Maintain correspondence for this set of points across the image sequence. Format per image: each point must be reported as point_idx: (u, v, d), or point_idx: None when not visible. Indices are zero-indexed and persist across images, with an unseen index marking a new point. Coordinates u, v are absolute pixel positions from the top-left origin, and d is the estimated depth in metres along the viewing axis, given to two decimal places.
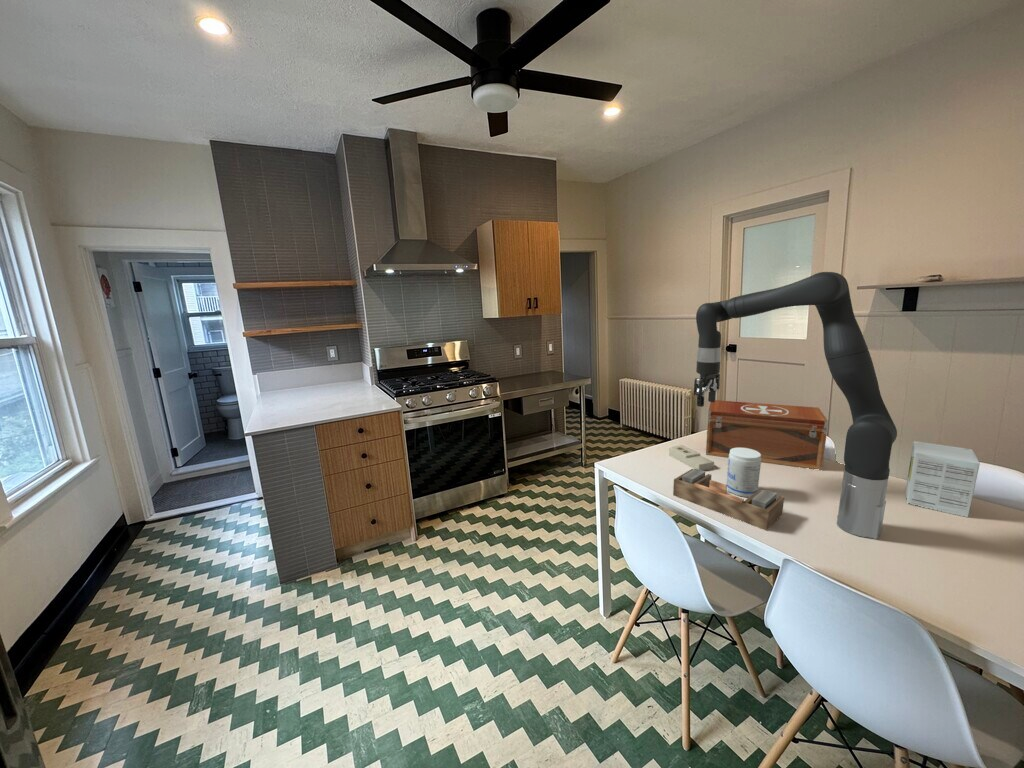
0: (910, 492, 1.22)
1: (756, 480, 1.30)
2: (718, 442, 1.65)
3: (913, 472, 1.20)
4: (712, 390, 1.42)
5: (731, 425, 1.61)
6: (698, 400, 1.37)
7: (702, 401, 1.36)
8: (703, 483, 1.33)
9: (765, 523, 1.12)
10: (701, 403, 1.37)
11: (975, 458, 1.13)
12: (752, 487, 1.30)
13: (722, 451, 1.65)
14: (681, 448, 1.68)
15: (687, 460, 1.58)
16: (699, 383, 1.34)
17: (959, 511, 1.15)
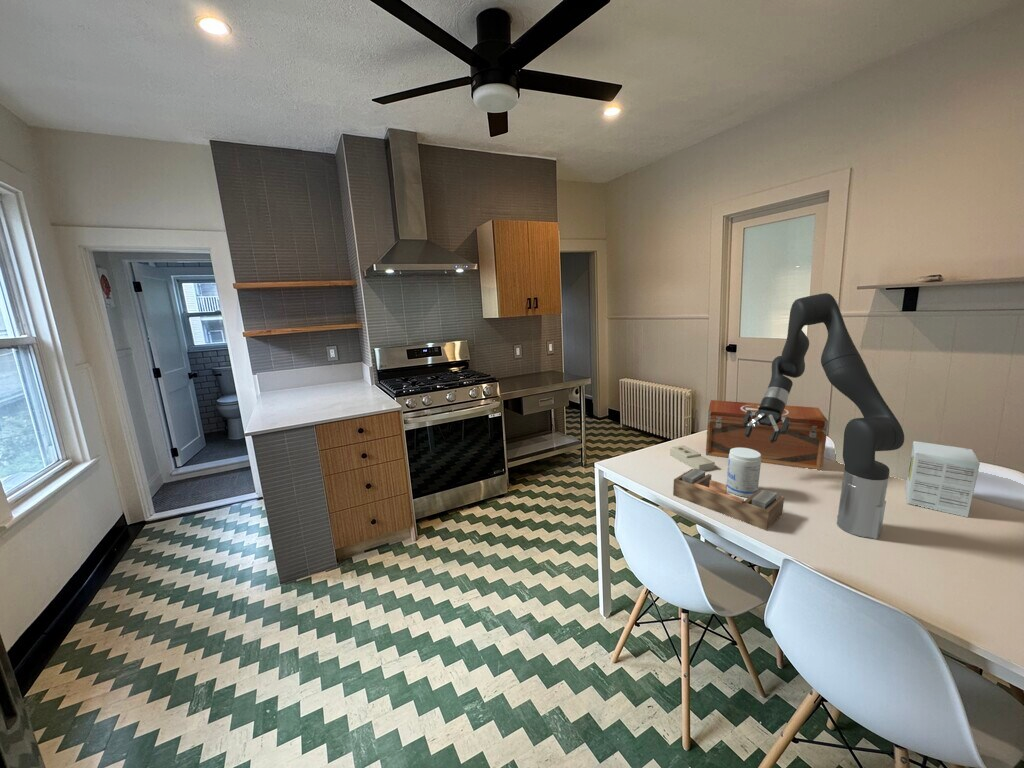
0: (910, 492, 1.22)
1: (756, 480, 1.30)
2: (718, 442, 1.65)
3: (913, 472, 1.20)
4: None
5: (731, 425, 1.61)
6: None
7: (747, 430, 1.43)
8: (703, 483, 1.33)
9: (765, 523, 1.12)
10: (745, 432, 1.43)
11: (975, 458, 1.13)
12: (752, 487, 1.30)
13: (722, 451, 1.65)
14: (682, 448, 1.68)
15: (688, 460, 1.58)
16: None
17: (959, 511, 1.15)
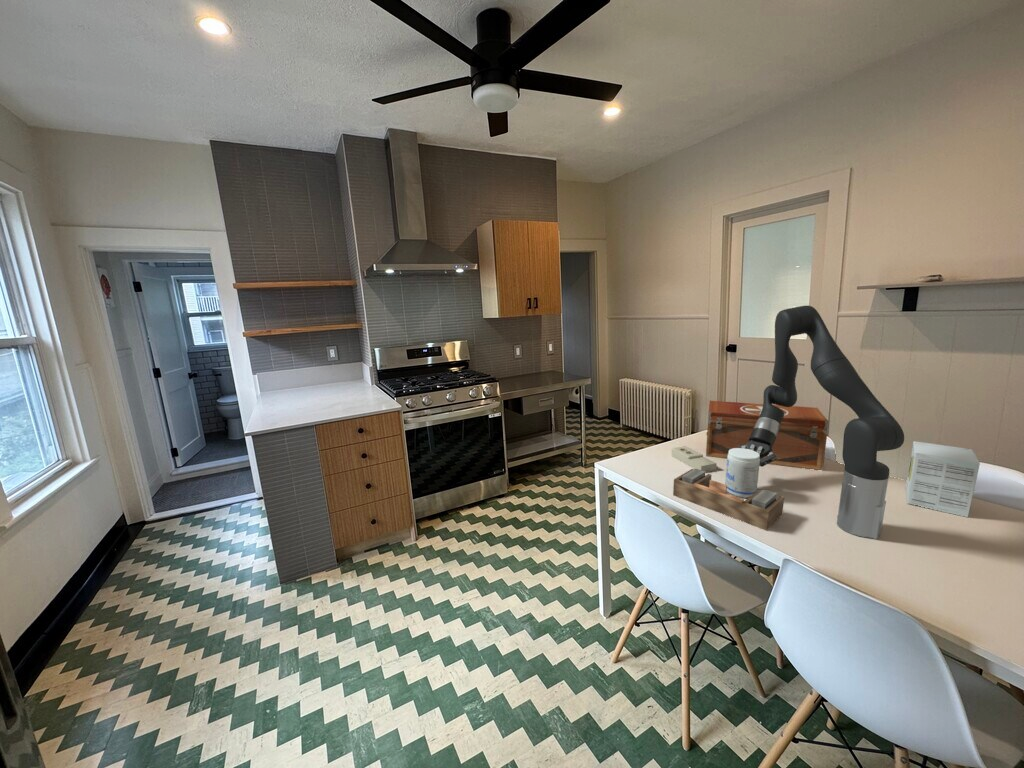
0: (910, 492, 1.22)
1: (755, 481, 1.30)
2: (718, 443, 1.64)
3: (913, 472, 1.20)
4: None
5: (731, 426, 1.60)
6: None
7: None
8: (703, 483, 1.33)
9: (765, 523, 1.12)
10: None
11: (975, 458, 1.13)
12: (751, 487, 1.30)
13: (722, 452, 1.64)
14: (684, 449, 1.67)
15: (689, 461, 1.57)
16: None
17: (959, 511, 1.15)
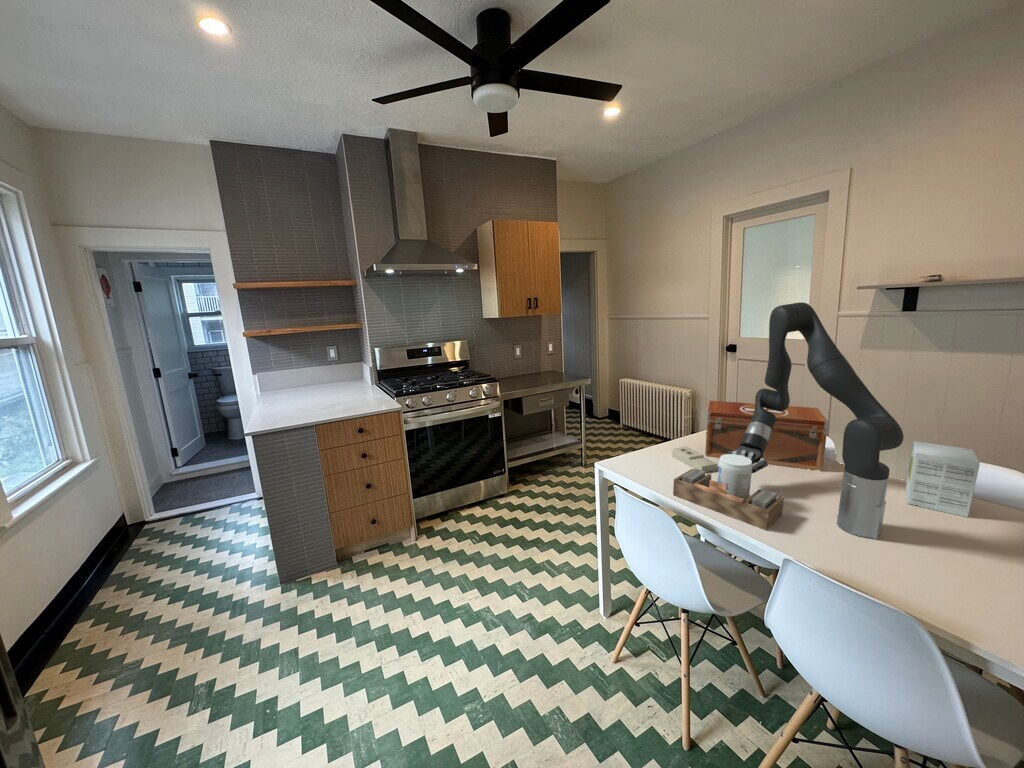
0: (910, 492, 1.22)
1: (748, 488, 1.25)
2: (717, 443, 1.64)
3: (913, 472, 1.20)
4: None
5: (731, 426, 1.60)
6: None
7: None
8: (703, 483, 1.33)
9: (765, 523, 1.12)
10: None
11: (975, 458, 1.13)
12: (745, 495, 1.25)
13: (721, 452, 1.64)
14: (685, 449, 1.66)
15: (690, 462, 1.57)
16: None
17: (959, 511, 1.15)
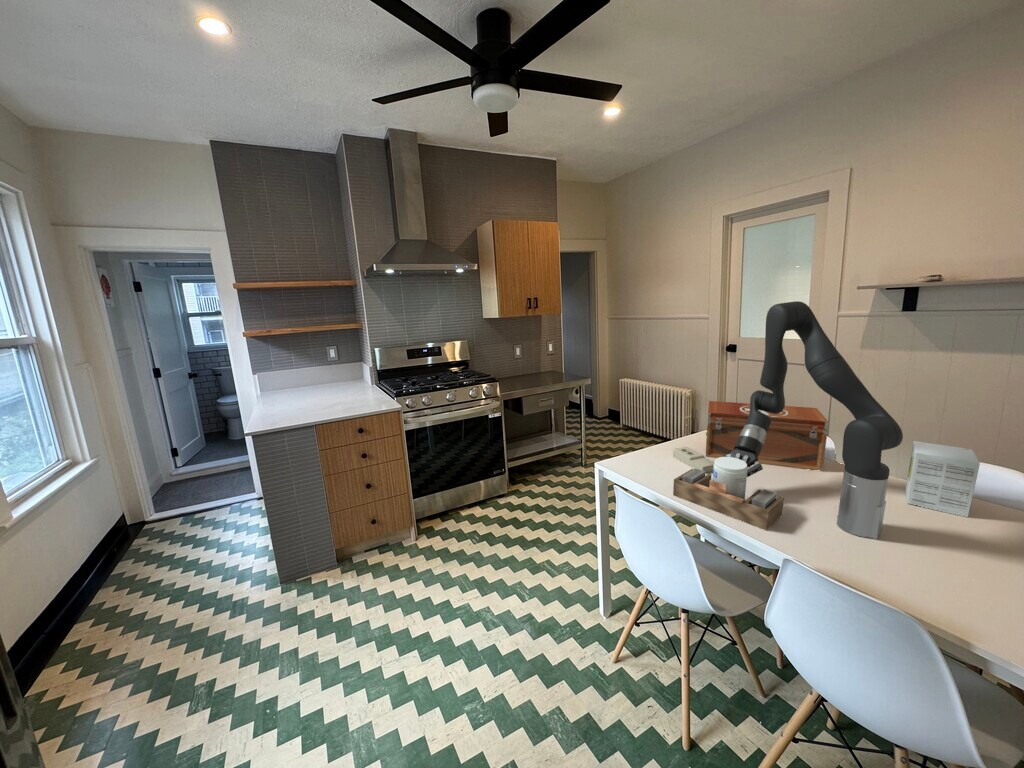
0: (910, 492, 1.22)
1: (744, 491, 1.23)
2: (717, 443, 1.63)
3: (913, 472, 1.20)
4: None
5: (731, 426, 1.59)
6: None
7: None
8: (703, 483, 1.33)
9: (765, 523, 1.12)
10: None
11: (975, 458, 1.13)
12: None
13: (722, 453, 1.63)
14: (685, 450, 1.66)
15: (691, 462, 1.56)
16: None
17: (959, 511, 1.15)
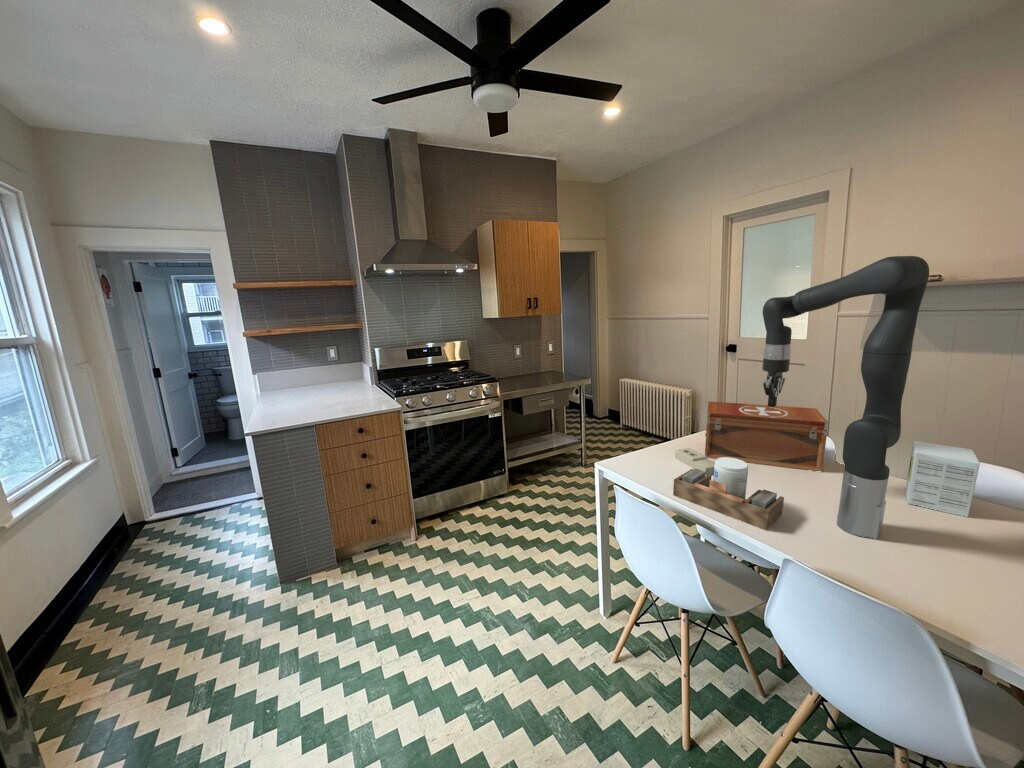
0: (910, 492, 1.22)
1: (745, 491, 1.23)
2: (717, 444, 1.62)
3: (913, 472, 1.20)
4: None
5: (730, 427, 1.59)
6: (770, 400, 1.33)
7: (774, 401, 1.33)
8: (703, 483, 1.33)
9: (765, 523, 1.12)
10: (773, 403, 1.33)
11: (975, 458, 1.13)
12: (742, 498, 1.23)
13: (721, 453, 1.62)
14: (688, 451, 1.64)
15: (693, 463, 1.55)
16: (769, 387, 1.29)
17: (959, 511, 1.15)
